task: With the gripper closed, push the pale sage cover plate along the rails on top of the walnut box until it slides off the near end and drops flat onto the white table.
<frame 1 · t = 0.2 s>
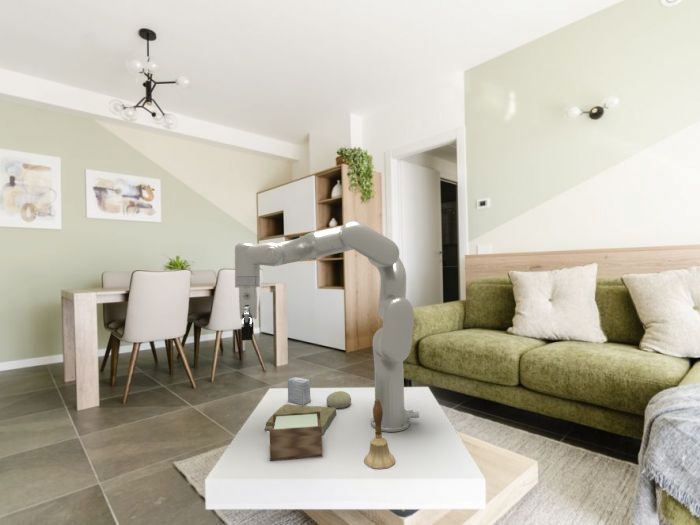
hand: (247, 337, 114), 30 cm above the table, tool pointing down, fingers open, 9 cm apart
hand bell: (379, 461, 97), on the table
sea urchin shell: (339, 406, 138), on the table
box: (296, 449, 104), on the table
medicine box: (299, 402, 142), on the table
cover plate: (296, 427, 104), point 6 cm above the table, touching box
decorative tile: (301, 425, 122), on the table
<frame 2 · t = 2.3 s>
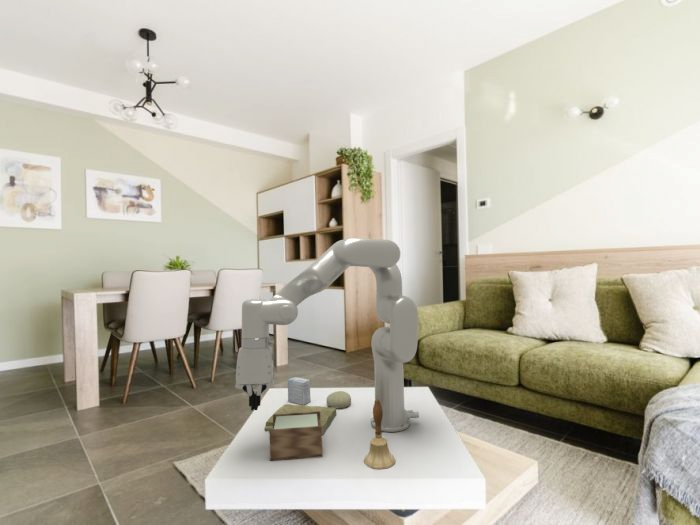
hand: (254, 408, 103), 12 cm above the table, tool pointing down, fingers closed
nothing on the table moved.
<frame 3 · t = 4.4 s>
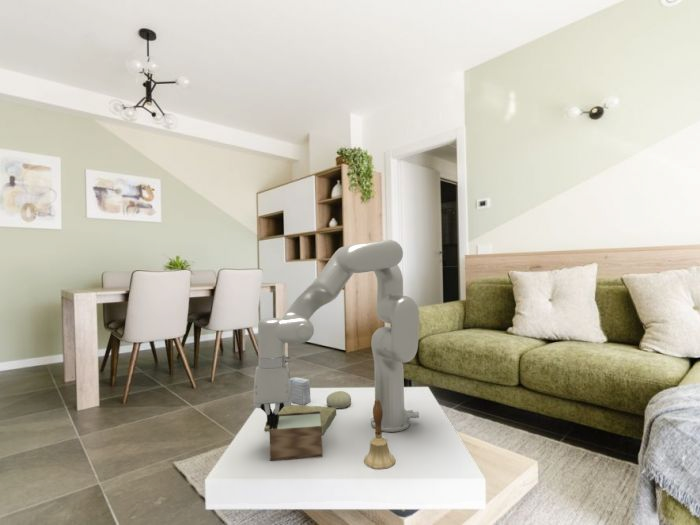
hand: (272, 426, 104), 7 cm above the table, tool pointing down, fingers closed
cover plate: (299, 427, 105), point 6 cm above the table, touching box, gripper
everything else where it was.
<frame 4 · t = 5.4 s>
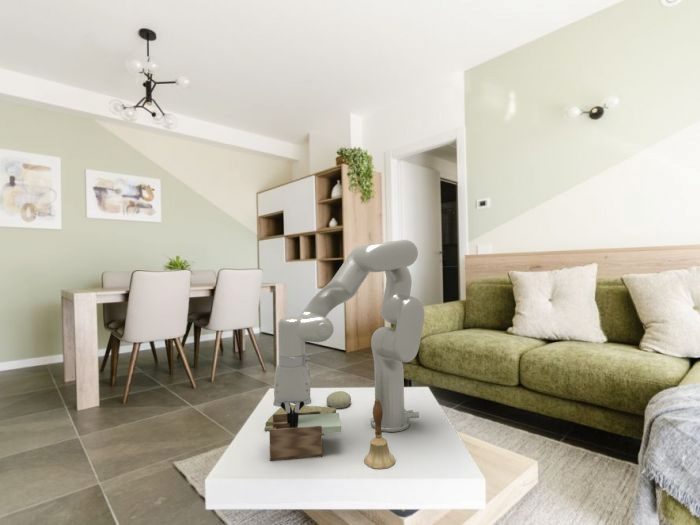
hand: (292, 425, 104), 7 cm above the table, tool pointing down, fingers closed
cover plate: (319, 426, 105), point 6 cm above the table, touching box
everything else where it was.
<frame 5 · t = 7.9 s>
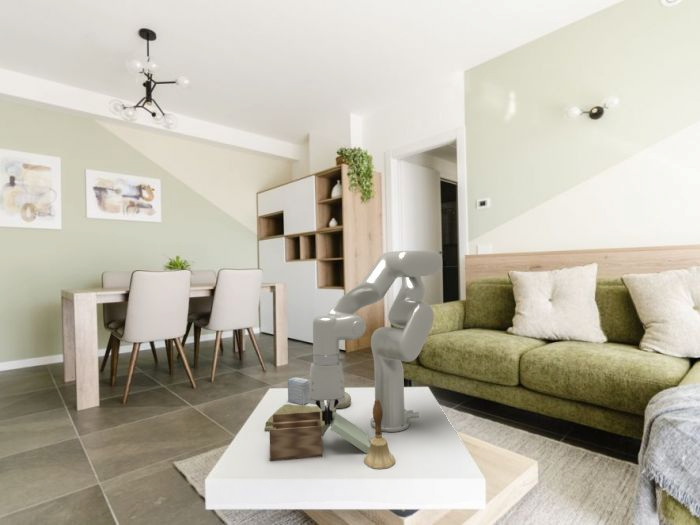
hand: (327, 422, 106), 7 cm above the table, tool pointing down, fingers closed
cover plate: (348, 434, 106), point 3 cm above the table, tilted 35°, touching gripper
everything else where it was.
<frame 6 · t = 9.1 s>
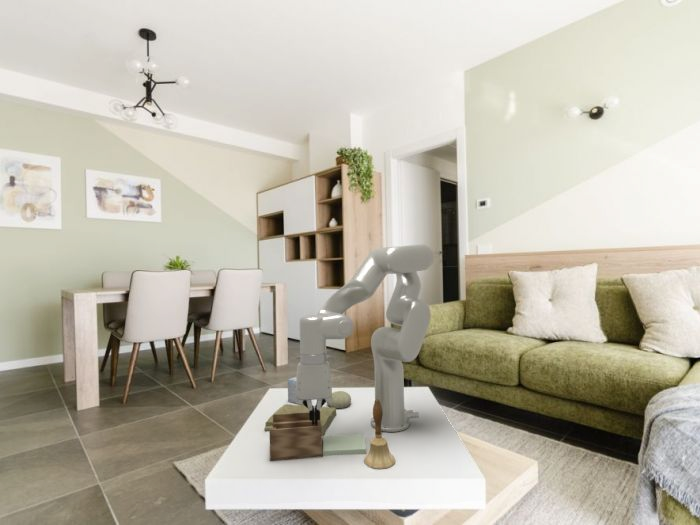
hand: (314, 422, 105), 7 cm above the table, tool pointing down, fingers closed
cover plate: (344, 448, 105), on the table
everything else where it was.
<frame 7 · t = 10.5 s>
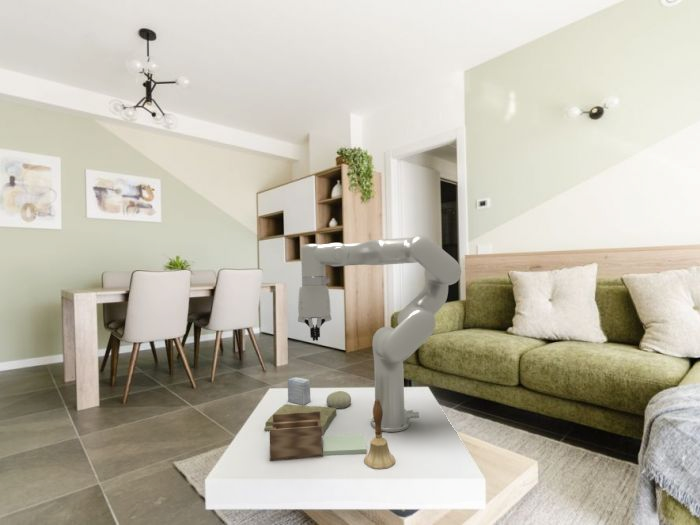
hand: (315, 339, 117), 29 cm above the table, tool pointing down, fingers closed
nothing on the table moved.
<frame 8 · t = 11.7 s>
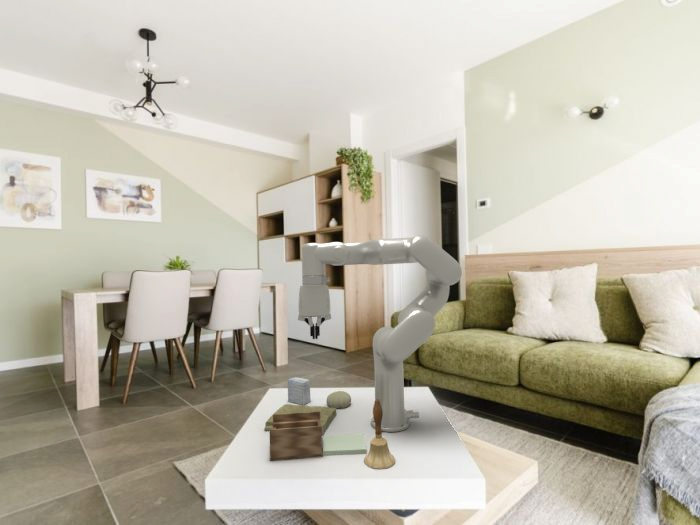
hand: (315, 338, 118), 29 cm above the table, tool pointing down, fingers closed
nothing on the table moved.
at the end: cover plate on the table; cover plate inside the target area (1.5 cm from its centre), on the table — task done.
